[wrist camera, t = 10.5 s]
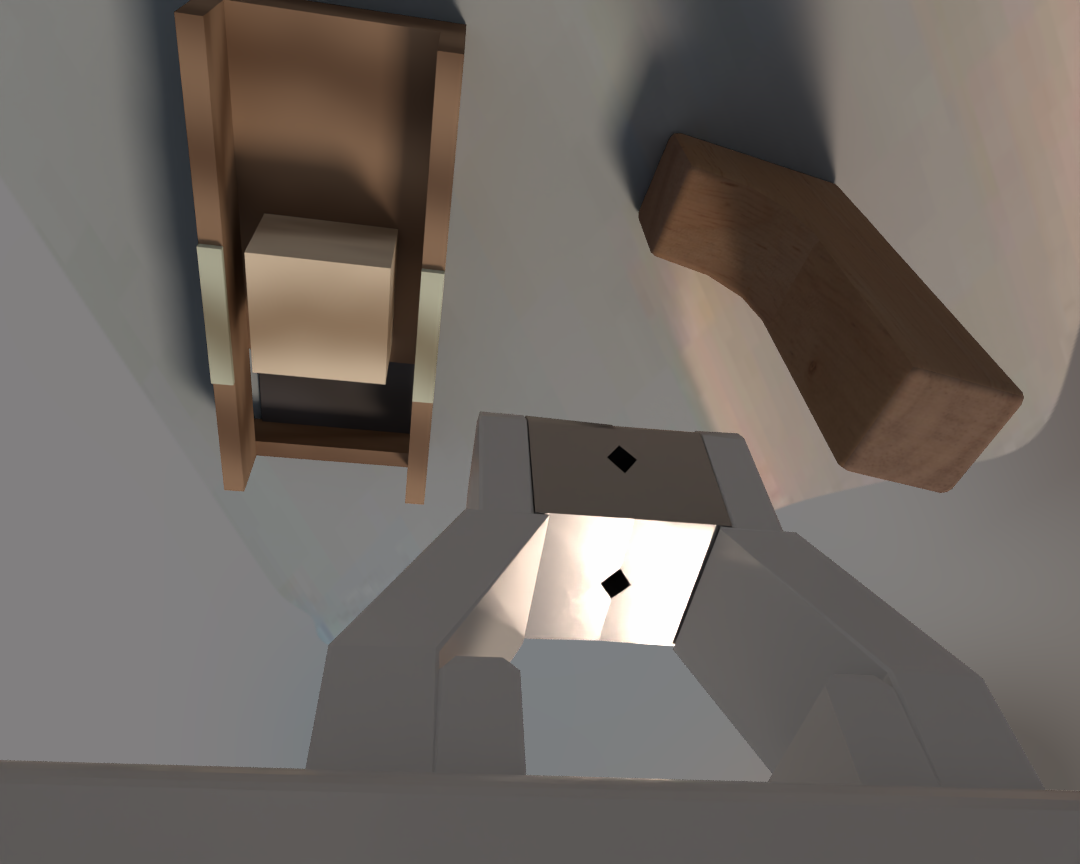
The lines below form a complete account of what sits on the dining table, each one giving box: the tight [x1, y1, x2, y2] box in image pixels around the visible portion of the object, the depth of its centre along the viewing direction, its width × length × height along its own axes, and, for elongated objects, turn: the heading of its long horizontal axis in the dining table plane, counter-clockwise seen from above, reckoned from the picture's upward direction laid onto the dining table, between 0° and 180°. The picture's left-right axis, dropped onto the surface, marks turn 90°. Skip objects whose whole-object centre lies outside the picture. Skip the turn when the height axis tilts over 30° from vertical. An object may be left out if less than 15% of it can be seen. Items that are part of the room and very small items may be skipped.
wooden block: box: [639, 133, 1024, 493], centre depth 33 cm, size 9×4×18 cm, turn 72°
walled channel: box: [174, 0, 466, 504], centre depth 39 cm, size 23×10×5 cm, turn 171°
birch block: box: [244, 213, 398, 384], centre depth 38 cm, size 6×6×4 cm
